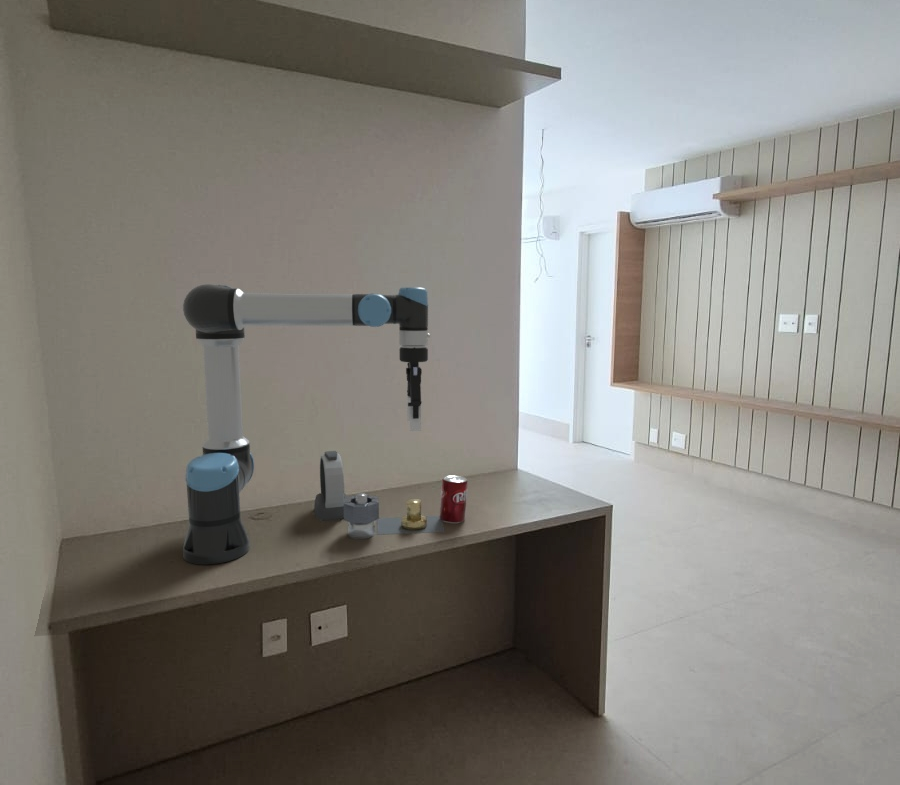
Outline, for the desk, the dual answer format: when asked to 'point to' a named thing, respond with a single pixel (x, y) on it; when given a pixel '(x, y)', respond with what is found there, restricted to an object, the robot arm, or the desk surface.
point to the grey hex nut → (361, 510)
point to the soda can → (453, 499)
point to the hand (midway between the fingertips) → (413, 425)
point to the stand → (361, 528)
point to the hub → (414, 516)
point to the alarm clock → (330, 488)
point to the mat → (395, 528)
